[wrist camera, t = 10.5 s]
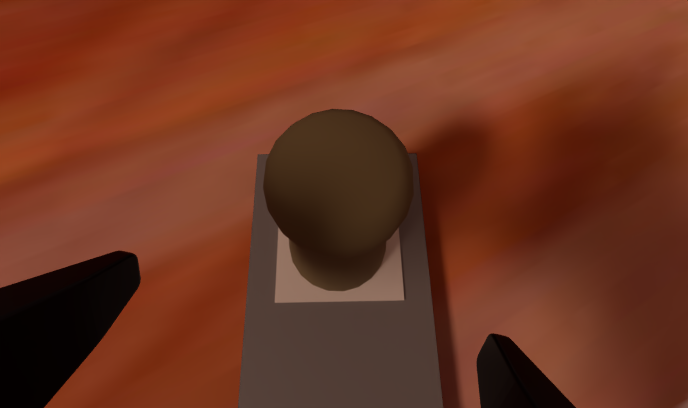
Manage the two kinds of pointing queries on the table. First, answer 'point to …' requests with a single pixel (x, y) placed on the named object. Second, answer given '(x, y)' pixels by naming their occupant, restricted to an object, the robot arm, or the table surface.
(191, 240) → the table surface
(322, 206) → the cork
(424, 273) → the dock step
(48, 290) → the robot arm
